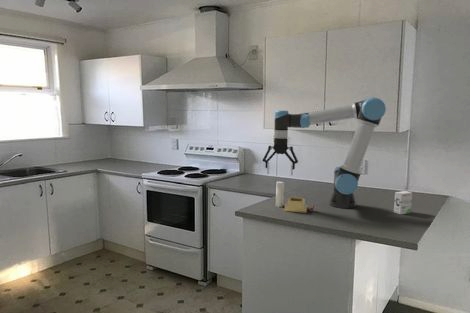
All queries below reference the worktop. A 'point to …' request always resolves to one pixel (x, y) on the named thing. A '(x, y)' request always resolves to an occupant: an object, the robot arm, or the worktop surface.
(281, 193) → the pipe stub
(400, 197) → the ink box
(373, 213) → the worktop surface
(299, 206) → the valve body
